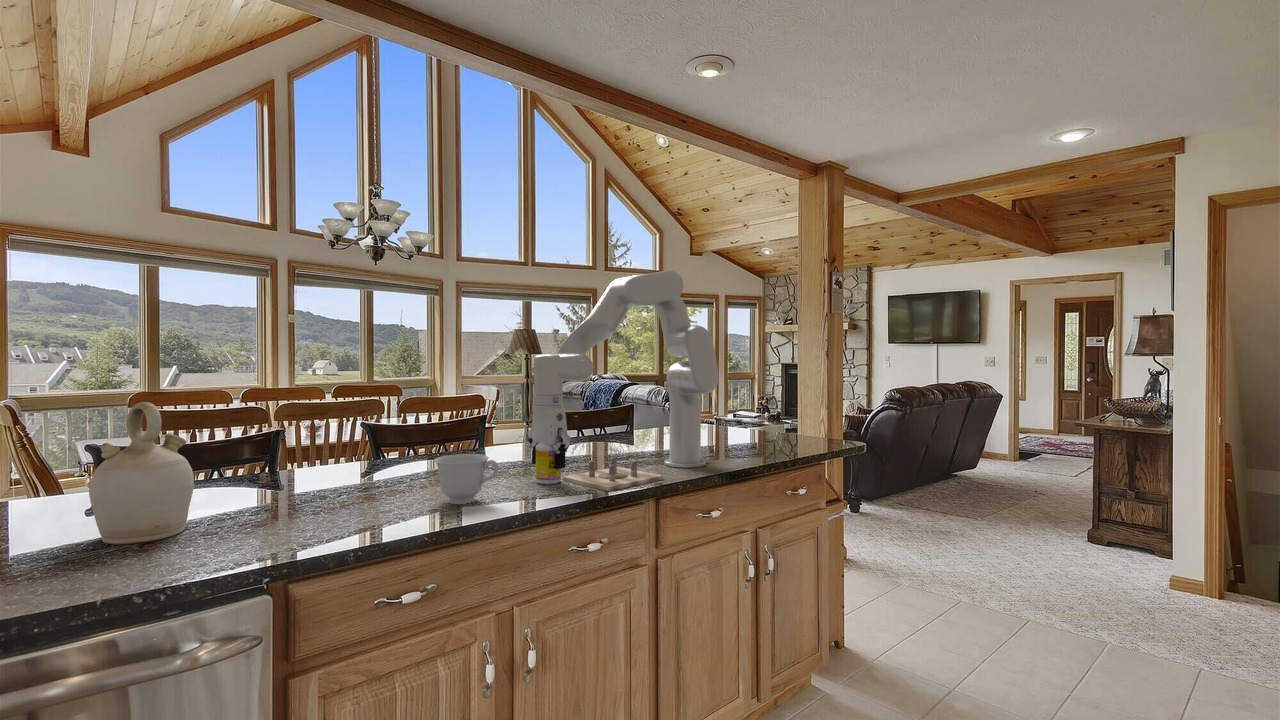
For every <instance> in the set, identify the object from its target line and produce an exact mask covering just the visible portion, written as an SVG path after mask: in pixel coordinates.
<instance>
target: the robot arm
mask: <svg viewBox="0 0 1280 720" xmlns="http://www.w3.org/2000/svg"><path fill="white" fill-rule="evenodd" d="M684 285H685V284H684V280H683V277H682V275H680V274H679V273H678V272H676V271H675V270H670V269H669V270H668V269H667V270H662V271H657V272H652V273H651V272H650V273H643V274H635V275H629V276H623V277H622V276H621V277H618V278H616V279H613V281H611V282H609V285H608V286H607V287H606V289H605V290H604V292H603V293H602V295H601V297H600V298H599V300H598V301H597V303H596V304H595V306H594V307H593V309H592V311H591V312H590V313H589V315H588V316H587V318H586V319H585V320H583V321H582V322H581V323H580V324H579V325H578V326H577V327H576V328H575V329H574V330H573V331H572V332H571V333H570V334H569V335H568V336H567V337H566V338H565V340H564V341H563V342H562V344H561V345H560V346H559V347H558V350H557V351H556V353H555V354H551V353H550V354H549V353H548V354H547V353H546V354H543V353H542V354H538V355H536V356H535V357H534V359H533V411H532V418H531V419H532V420H531V429H529V430H528V431H527V437H528V441H529V444H530V449H531V464H532V465H536V445H537V444H538V443H541V442H543V443H544V444H547V445H553V447H554V449H555V451H556V453H555V454H554V468H555V469H561V470H562V469H565V468H566V453H567V452H568V449H569V448H570V443H571V440H572V437H571V436H570V435H569V434H568V425H567V415H566V410H565V406H564V402H563V400H564V399H563V394H564V393H563V391H564V388H563V387H564V386H563V383H564V382H563V381H567V382H569V381H570V382H577V383H580V382H583V381H586V380H588V379H589V378H590V377H591V376H592V375H593V374H594V373H593V372H594V370H595V369H594V368H595V367H594V363H593V360H592V359H591V358H590V357H589V356H588V355H586V354H587V353H588V352H589V351H590V350H591V349H592V348H593V347H595V346H596V345H598V344H599V343H602V342H603V341H605V340H608V339H609V338H610V337H611V336H613V335H614V334H615V332H616V331H617V329H618V328H619V326H620V324H621V323H622V322H623V320H624V318H625V316H626V315H627V313H629V310H630V309H631V308H632V307H639V306H649V305H651V306H652V307H653V308H654V309H655V311H656V312H657V314H658V316H659V321H660V326H661V330H662V335H663V342H664V346H665V349H666V352H667V354H668V355H670V356H671V357H674V358H687V359H688V360H680V361H676V362H674V363H673V364H671V365H670V366H669V367H668V370H667V371H666V385H667V391H668V398H669V399H668V400H669V457H668V458H666V459H664V461H663V462H664V465H666V466H668V467H671V468H687V469H690V468H700V467H704V466H705V465H706V464H707V462H706V460H705V459H703V457H705V456H708V455H709V454H710V450H709V449H708V448H704V449H703V448H702V447H701V446H702V445H701V443H702V442H701V440H702V439H701V437H702V434H701V433H702V431H701V430H702V428H701V427H702V425H701V424H702V421H701V419H702V418H701V417H702V416H701V415H702V406H701V401H700V398H699V395H698V394H700V395H701V394H702V395H704V394H705V395H706V394H709V393H712V392H713V391H714V390H715V389H716V388H717V386H718V384H719V377H720V376H719V368H718V367H719V366H718V361H717V357H716V351H715V345H714V340H713V338H712V336H711V333H710V332H709V330H708V329H707V328H705V327H704V326H701V325H698V324H693V325H692V324H691V322H690V318H689V314H688V309H687V306H686V304H685V301H684V300H683V298H682V297H681V295H682V294H683V291H684ZM540 437H542V438H543V439H540ZM558 445H560V447H558Z"/></svg>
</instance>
